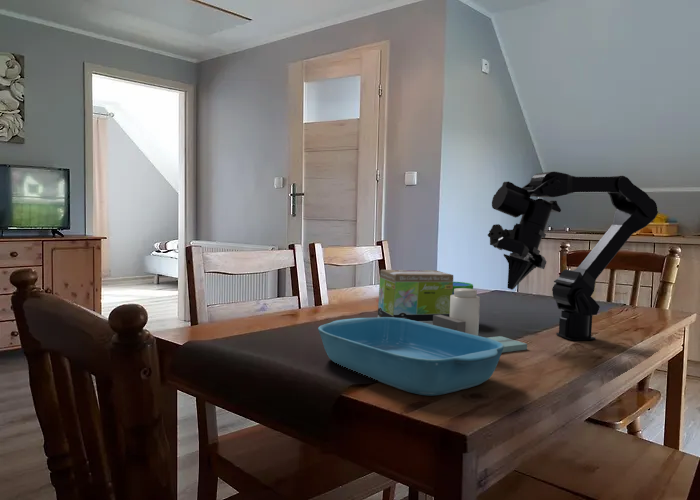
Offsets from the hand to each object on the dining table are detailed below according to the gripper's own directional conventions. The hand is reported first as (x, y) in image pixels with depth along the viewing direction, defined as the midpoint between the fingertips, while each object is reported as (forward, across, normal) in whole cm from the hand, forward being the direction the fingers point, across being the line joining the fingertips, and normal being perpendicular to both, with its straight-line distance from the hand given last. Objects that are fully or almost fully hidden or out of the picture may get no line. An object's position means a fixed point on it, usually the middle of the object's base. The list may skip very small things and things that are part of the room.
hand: (510, 288), depth 128 cm
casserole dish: (+22, +34, -1) cm, 40 cm away
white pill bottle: (+14, +14, 0) cm, 20 cm away
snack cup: (+13, -14, -17) cm, 25 cm away
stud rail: (+14, +10, +2) cm, 17 cm away
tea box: (+18, +5, -17) cm, 25 cm away
